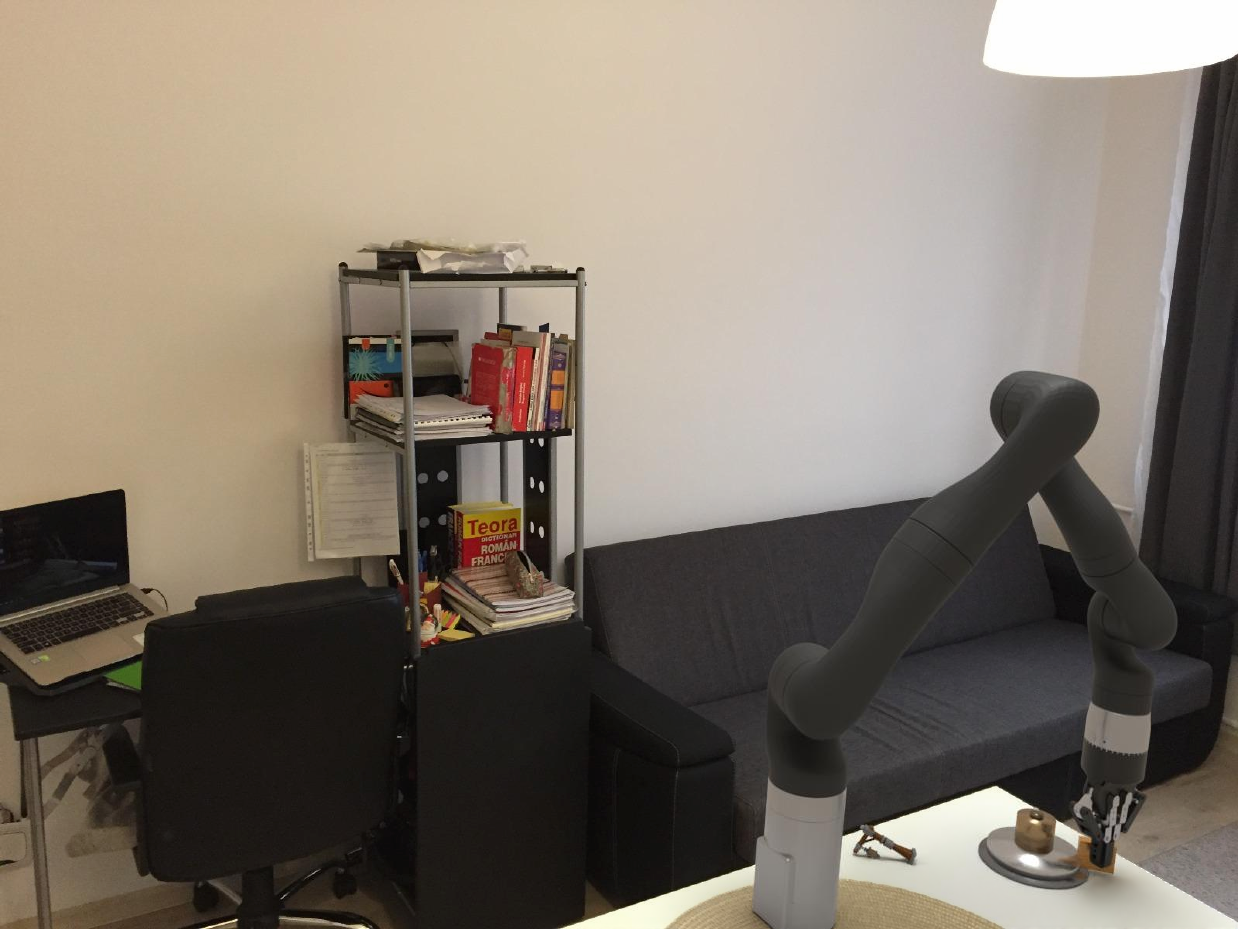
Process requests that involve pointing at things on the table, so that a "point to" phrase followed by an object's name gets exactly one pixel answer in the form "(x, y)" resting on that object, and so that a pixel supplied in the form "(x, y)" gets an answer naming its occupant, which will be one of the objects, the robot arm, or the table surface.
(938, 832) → the table surface
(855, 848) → the toy blunderbuss
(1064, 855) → the silver disc with handle
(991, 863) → the base plate
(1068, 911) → the table surface
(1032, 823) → the cover
